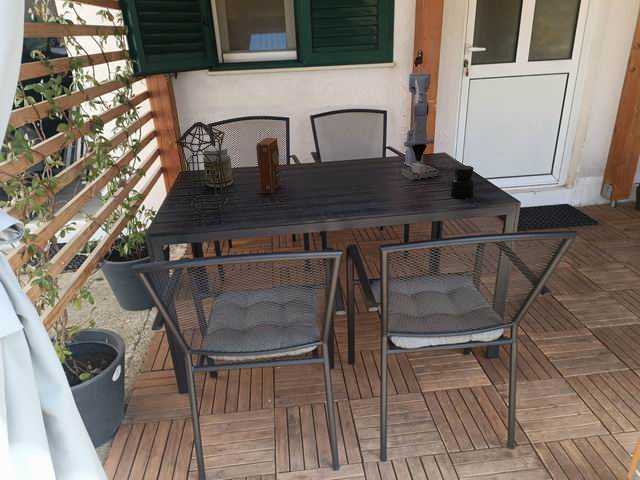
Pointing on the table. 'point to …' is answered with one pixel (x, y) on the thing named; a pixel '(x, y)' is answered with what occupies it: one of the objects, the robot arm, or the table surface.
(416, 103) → the robot arm
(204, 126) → the geometric lantern
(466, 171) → the ink bottle
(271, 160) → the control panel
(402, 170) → the rack
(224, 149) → the supplement tub
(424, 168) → the beige rectangular block
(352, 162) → the table surface
